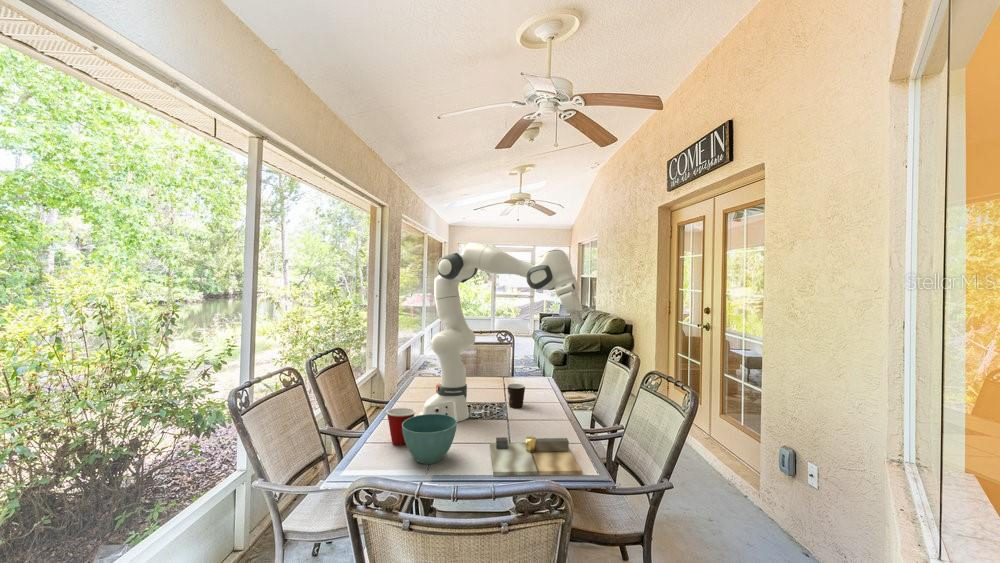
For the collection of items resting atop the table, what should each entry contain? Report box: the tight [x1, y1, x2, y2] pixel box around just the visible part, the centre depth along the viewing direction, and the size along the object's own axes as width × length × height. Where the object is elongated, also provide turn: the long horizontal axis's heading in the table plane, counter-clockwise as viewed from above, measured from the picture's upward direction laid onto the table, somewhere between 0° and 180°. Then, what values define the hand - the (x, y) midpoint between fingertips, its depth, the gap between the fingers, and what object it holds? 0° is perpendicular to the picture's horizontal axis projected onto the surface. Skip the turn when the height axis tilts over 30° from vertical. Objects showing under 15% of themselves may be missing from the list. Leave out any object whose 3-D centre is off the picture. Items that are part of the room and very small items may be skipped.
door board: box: [489, 442, 583, 477], centre depth 136 cm, size 28×22×1 cm
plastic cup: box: [385, 407, 417, 447], centre depth 149 cm, size 11×11×12 cm
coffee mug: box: [507, 383, 526, 410], centre depth 195 cm, size 12×9×10 cm
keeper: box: [495, 436, 509, 449], centre depth 143 cm, size 4×3×3 cm
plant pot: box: [402, 414, 458, 465], centre depth 136 cm, size 18×18×12 cm
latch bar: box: [525, 436, 570, 452], centre depth 140 cm, size 15×4×4 cm, turn 94°
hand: (579, 323), depth 151 cm, fingers open, 8 cm apart
